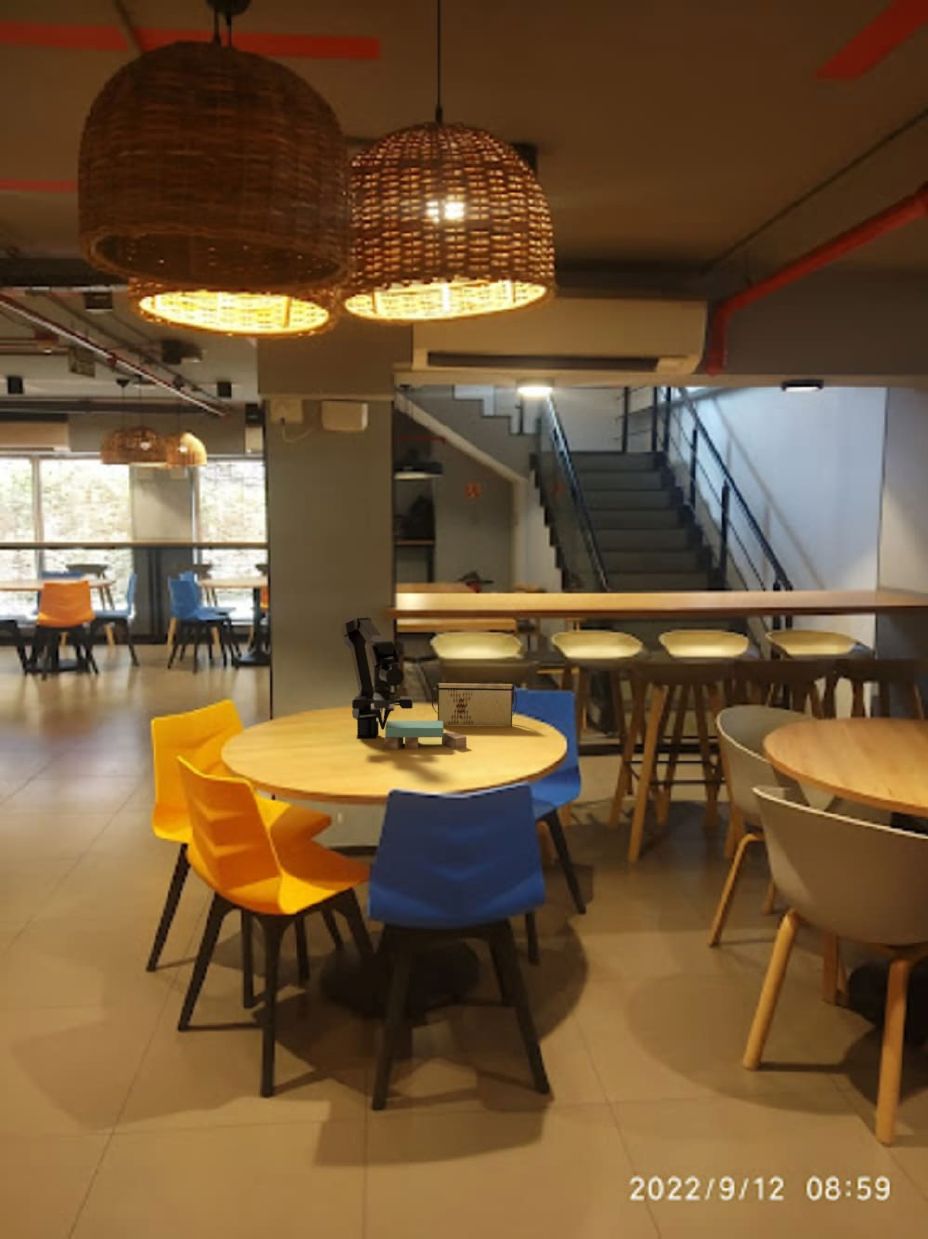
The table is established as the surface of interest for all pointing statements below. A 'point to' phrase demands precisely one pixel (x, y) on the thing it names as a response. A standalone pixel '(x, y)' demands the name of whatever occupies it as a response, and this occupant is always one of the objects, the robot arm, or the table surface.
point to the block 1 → (393, 743)
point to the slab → (414, 729)
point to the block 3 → (454, 740)
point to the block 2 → (411, 742)
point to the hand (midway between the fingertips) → (382, 729)
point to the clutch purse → (475, 704)
